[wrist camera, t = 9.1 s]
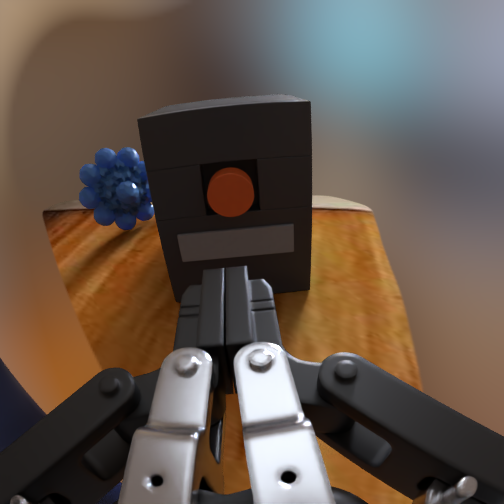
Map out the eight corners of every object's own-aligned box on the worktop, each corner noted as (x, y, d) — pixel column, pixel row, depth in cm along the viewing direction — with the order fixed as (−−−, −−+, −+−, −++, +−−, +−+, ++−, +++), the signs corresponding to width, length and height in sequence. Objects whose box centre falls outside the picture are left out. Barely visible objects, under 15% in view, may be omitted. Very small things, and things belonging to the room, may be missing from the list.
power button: (210, 219, 22) (204, 176, 20) (211, 210, 24) (206, 169, 22) (255, 215, 22) (252, 171, 21) (254, 206, 24) (251, 165, 22)
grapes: (101, 256, 36) (75, 163, 30) (89, 239, 40) (66, 157, 34) (180, 222, 42) (165, 135, 36) (158, 210, 47) (144, 133, 40)
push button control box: (175, 304, 28) (135, 119, 19) (187, 245, 37) (165, 106, 28) (310, 291, 28) (311, 101, 20) (291, 235, 37) (286, 94, 28)
